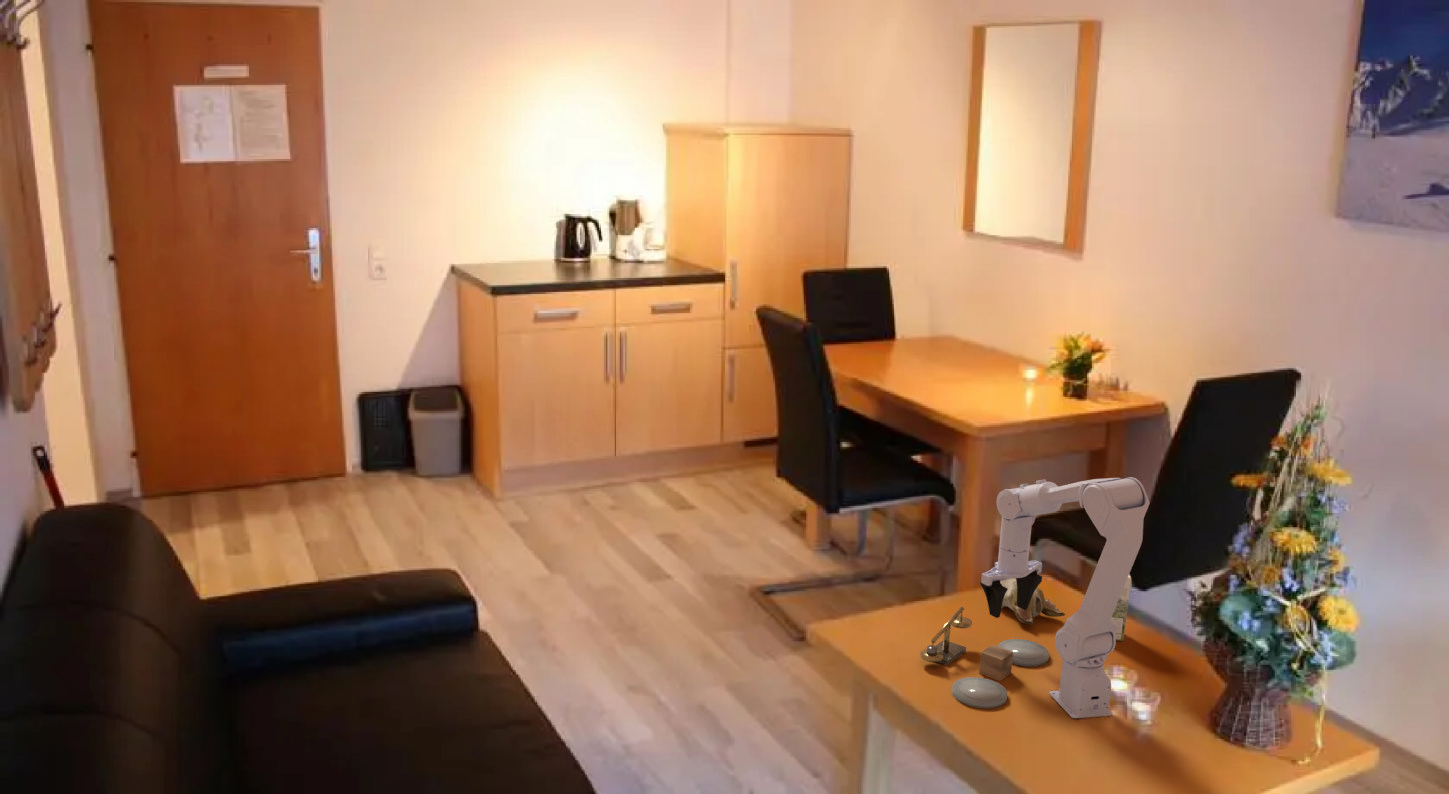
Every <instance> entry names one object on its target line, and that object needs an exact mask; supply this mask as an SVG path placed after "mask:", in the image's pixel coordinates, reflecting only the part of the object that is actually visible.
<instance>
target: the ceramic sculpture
mask: <svg viewBox="0 0 1449 794" xmlns="http://www.w3.org/2000/svg"><path fill="white" fill-rule="evenodd" d="M1000 584H1002V586H1004V587H1006V588H1007V589H1008V590H1007V592H1006V594H1005V596H1004V599H1003V602H1002V608H1009V609H1010V610H1011V611H1013V613H1014V615H1015V617H1016V619H1017V620H1018V621H1019V622H1020V623H1023V624H1027V625H1034V620H1035V617H1038V616H1039V615H1041V614H1042V615H1044V616H1047V617H1053V618H1057V617H1065V616H1066V613H1065V612H1063V611H1062V612H1061V611H1060V609H1059V608H1058V607H1057V605H1056V604H1054V603H1053V602H1052V601H1051V600H1050V599H1048V598H1045V595H1044V593H1043V592H1044V591H1043V590H1042V589H1041V588H1039V586H1038V587H1037V588H1036V590H1035V592H1034V593H1033V596H1032V598H1031V600H1030V603H1029V606H1028V608H1027V610H1024V609H1022V608H1019V607H1017V581H1016V578H1011V579H1007V580H1003V581H1000Z"/></svg>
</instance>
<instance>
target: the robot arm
mask: <svg viewBox="0 0 1449 794" xmlns="http://www.w3.org/2000/svg"><path fill="white" fill-rule="evenodd" d="M1074 502H1075V503H1076V502H1079V506H1080V508H1081V509H1085V513H1087V515H1088V517H1089V519H1090V520H1091V522H1092V524H1093V525H1094V526H1095V528H1096V530H1097V532H1098V533H1099V534H1100V536H1102V537H1104V538H1105V539H1106V542H1105V545H1103V549H1102V551H1101V553H1100V557H1099V559H1098V562H1097V564H1096V566H1095V569H1094V571H1093V574H1092V577H1091V579H1090V581H1089V585H1088V587H1087V590H1086V592H1085V593H1084V594H1085V595H1084V596H1083V597H1084V598H1083V599H1082V603H1081V605H1080V607H1079V609H1078V610H1077V611H1075V612H1074V613H1073V614H1071V616H1070V617H1068V618H1067V619H1066V620H1065V622H1064V624H1063V626H1062V627H1061V628H1060V629H1058V630H1057V632H1056V634H1055V637H1054V644H1055V649H1056V651H1057V653H1058V655H1059V657H1060V659H1061V660H1062V662H1061V671H1060V679H1059V680H1060V681H1059V690H1051V691H1049V695H1050V696H1051V697H1052V698H1053V700H1054V701H1056V702H1057V704H1059V705H1060V707H1061V708H1062V709H1063V710H1064V711H1065V712H1066V713H1067V714H1068V715H1069V716H1070V717H1071V718H1072V719H1084V718H1085V719H1086V718H1097V717H1108V716H1109V717H1110V716H1113V712H1112V711H1111V710H1110V709H1109V708H1110V702H1111V699H1110V698H1111V692H1112V683H1111V680H1110V678H1109V676H1108V675H1107V674H1106V671H1105V661H1107V660H1108V655H1109V654H1110V653H1112V652H1114V649H1115V647H1116V645H1117V644H1116V643H1117V640H1116V631H1117V629H1118V625H1117V624H1116V622H1115V620H1114V619H1113V618H1112V615H1113V612H1114V610H1115V607H1116V605H1117V602H1118V600H1119V598H1120V595H1121V593H1122V590H1123V588H1124V585H1125V583H1126V580H1127V578H1128V576H1129V575H1130V573H1131V570H1132V569H1133V568H1132V567H1133V566H1134V563H1135V560H1136V559H1137V555H1138V554H1139V550H1140V548H1141V546H1142V543H1143V539H1144V538H1143V536H1144V518H1145V516H1146V513H1147V512H1148V509H1149V506H1150V503H1151V502H1150V500H1149V496H1148V494H1147V491H1146V489H1145V486H1144V485H1143V484H1142V482H1141V481H1140V480H1138V478H1136V477H1131V476H1129V477H1125V478H1121V477H1108V478H1094V479H1088V480H1081V481H1077V482H1074V483H1068V484H1065V485H1060V486H1058V485H1057V484H1056V483H1054V482H1053V481H1047V479H1040V480H1036V481H1035V483H1034V484H1029V483H1021V484H1020V485H1019V487H1015V488H1010V489H1009V488H1005V489H1003V490H1001V491H1000V492H999V493H998V494H997V497H996V507H997V511H998V513H999V515H1000V516H1001V522H1000V523H1001V525H1000V534H999V535H1000V536H999V546H998V558H997V559H998V560H997V561H996V562H994V567H992V568H990V570H988V571H986V572H983V573H981V578H980V583H979V584H980V586H981V588H982V590H983V592H984V595H985V598H986V601H987V606H988V612H989V613H988V614H989V616H992V617H994V618H996V619H998V618H1000V617H1001V614H1002V608H1003V607H1002V602H1003V599H1004V596H1005V594H1006V592H1007V590H1008V589H1007V588H1006V587H1004V586H1002V584H1000V581H1003V580H1007V579H1011V578H1016V581H1017V607H1019V608H1022V609H1024V610H1027V608H1028V606H1029V603H1030V600H1031V598H1032V596H1033V593H1034V592H1035V590H1036V588H1037V587H1038V588H1039V585H1040V584H1041V583H1042V581H1043V576H1041V575H1040V573H1042V570H1043V569H1042V568H1043V563H1042V562H1040V561H1038V560H1029V556H1030V546H1031V536H1032V526H1033V525H1034V523H1035V519H1036V517H1037V516H1038V515H1044V514H1051V513H1055V512H1057V511H1058V510H1060V509H1061V507H1062V505H1063V504H1067V503H1074Z"/></svg>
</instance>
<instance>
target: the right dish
mask: <svg viewBox="0 0 1449 794" xmlns="http://www.w3.org/2000/svg"><path fill="white" fill-rule="evenodd" d="M997 647H1000V648H1003V649H1006V650H1009V651H1012V652H1013V659H1012V665H1016V666H1021V667H1039V666H1043V665H1045V664H1047V662H1048V661H1049V657H1050V652H1049V650H1048V649H1047V648H1046V646H1044V645H1042V644H1040V643H1038V642H1035V641H1033V640H1030V639H1029V640H1028V639H1022V638H1021V639H1020V638H1012V639H1011V638H1009V639H1006V640H1002V641H1001V642H999V643H998V645H997Z"/></svg>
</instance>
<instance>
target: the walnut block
mask: <svg viewBox="0 0 1449 794" xmlns="http://www.w3.org/2000/svg"><path fill="white" fill-rule="evenodd" d="M979 658H980V659H979V669H978V671H979V672H978V674H980V675H983V676H986V677H988V678H991V679H994V680H995V681H999V682H1001V681H1002V680H1004V679H1005V678H1006V677H1008V676H1009V675H1010V674H1011V673H1012V668H1013V664H1012V659H1013V652H1012V651H1009V650H1006V649H1003V648H1000V647H998V645H994V644H991V645H990V646H988V647H987V648H985V649H984V650H982V651H981V652H980V657H979Z"/></svg>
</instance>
